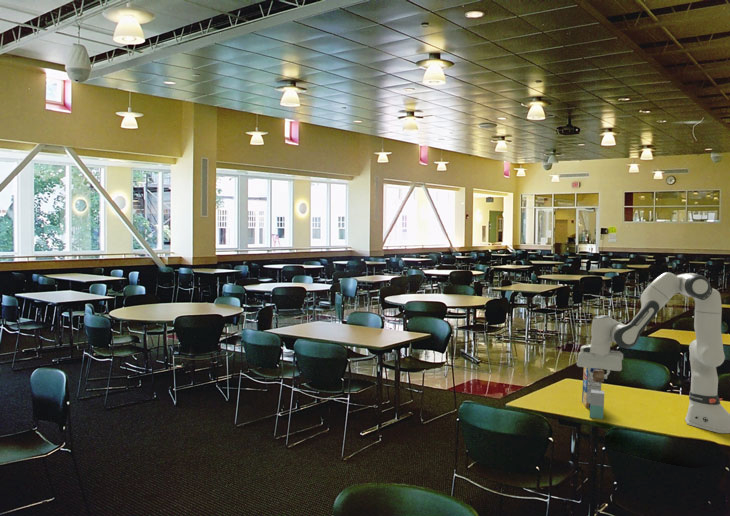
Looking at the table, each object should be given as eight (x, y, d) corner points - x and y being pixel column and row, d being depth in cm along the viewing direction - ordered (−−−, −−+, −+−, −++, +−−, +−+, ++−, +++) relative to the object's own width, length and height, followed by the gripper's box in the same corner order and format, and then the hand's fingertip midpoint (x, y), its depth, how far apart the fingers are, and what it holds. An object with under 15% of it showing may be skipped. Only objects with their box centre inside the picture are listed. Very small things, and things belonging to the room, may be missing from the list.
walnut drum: (606, 382, 295) (606, 371, 295) (598, 382, 293) (598, 372, 293) (598, 379, 300) (598, 369, 300) (590, 380, 298) (590, 369, 298)
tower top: (603, 403, 299) (604, 391, 299) (603, 406, 293) (604, 394, 293) (590, 401, 301) (591, 389, 301) (590, 404, 296) (590, 392, 295)
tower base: (603, 415, 299) (603, 403, 299) (603, 419, 294) (603, 406, 293) (589, 413, 301) (590, 401, 301) (589, 417, 296) (590, 404, 296)
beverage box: (585, 407, 312) (588, 364, 311) (581, 401, 323) (584, 359, 322) (600, 408, 311) (602, 365, 310) (595, 402, 322) (597, 360, 321)
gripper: (623, 350, 295) (621, 379, 296) (578, 345, 302) (576, 373, 303) (623, 352, 289) (621, 382, 290) (577, 348, 297) (575, 376, 297)
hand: (598, 377), depth 297 cm, fingers closed on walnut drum, 5 cm apart
